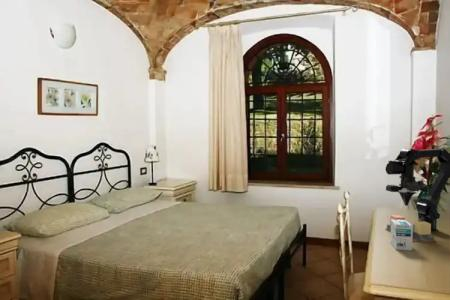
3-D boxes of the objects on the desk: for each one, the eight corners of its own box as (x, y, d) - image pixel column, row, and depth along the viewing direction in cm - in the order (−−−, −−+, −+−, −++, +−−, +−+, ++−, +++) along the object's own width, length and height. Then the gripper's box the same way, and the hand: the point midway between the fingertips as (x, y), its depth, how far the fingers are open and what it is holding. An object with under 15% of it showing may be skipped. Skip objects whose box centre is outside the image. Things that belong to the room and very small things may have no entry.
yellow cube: (424, 231, 178) (424, 221, 178) (430, 234, 173) (430, 224, 173) (414, 231, 178) (414, 221, 178) (420, 234, 173) (420, 224, 173)
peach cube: (399, 224, 191) (399, 215, 191) (404, 227, 186) (405, 217, 186) (390, 224, 190) (390, 215, 190) (395, 227, 186) (395, 217, 185)
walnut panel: (409, 229, 193) (409, 224, 193) (434, 241, 172) (434, 235, 172) (385, 229, 193) (385, 224, 193) (407, 241, 172) (407, 235, 172)
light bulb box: (412, 251, 158) (413, 225, 158) (395, 250, 160) (396, 224, 159) (406, 243, 169) (406, 219, 168) (389, 242, 170) (390, 218, 170)
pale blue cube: (409, 232, 184) (409, 222, 184) (414, 234, 179) (414, 224, 179) (399, 232, 184) (399, 222, 183) (404, 234, 179) (404, 224, 179)
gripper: (396, 176, 181) (395, 209, 182) (435, 176, 182) (434, 208, 183) (385, 173, 192) (384, 204, 193) (422, 173, 193) (421, 204, 194)
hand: (406, 205), depth 191 cm, fingers closed
